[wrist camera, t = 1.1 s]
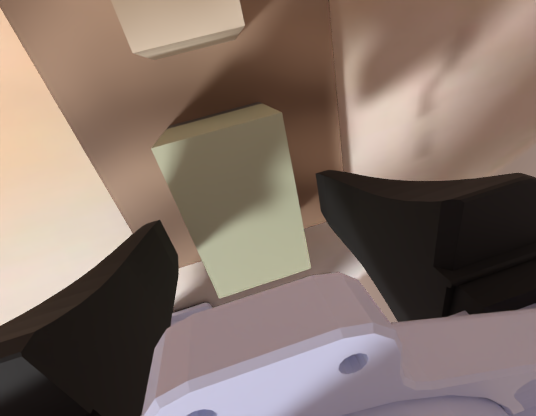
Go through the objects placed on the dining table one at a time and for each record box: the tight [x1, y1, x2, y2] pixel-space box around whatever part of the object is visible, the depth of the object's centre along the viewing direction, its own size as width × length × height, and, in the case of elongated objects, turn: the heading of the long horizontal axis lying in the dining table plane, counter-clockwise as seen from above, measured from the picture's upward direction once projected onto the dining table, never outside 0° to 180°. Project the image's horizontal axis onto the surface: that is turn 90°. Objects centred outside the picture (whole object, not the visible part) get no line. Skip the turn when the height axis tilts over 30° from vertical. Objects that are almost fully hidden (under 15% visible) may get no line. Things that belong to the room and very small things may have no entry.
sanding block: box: [151, 102, 311, 299], centre depth 14 cm, size 8×5×5 cm, turn 13°
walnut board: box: [0, 0, 343, 268], centre depth 15 cm, size 18×14×2 cm
